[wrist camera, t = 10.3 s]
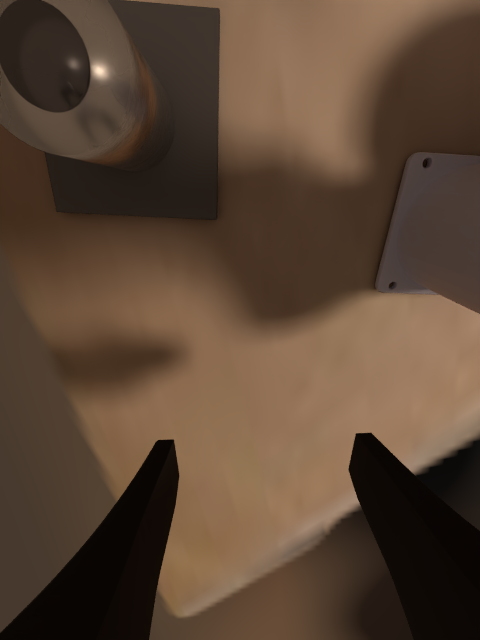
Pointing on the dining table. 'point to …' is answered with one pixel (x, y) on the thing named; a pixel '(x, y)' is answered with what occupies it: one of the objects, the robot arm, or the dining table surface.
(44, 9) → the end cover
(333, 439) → the dining table surface
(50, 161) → the rubber mat
